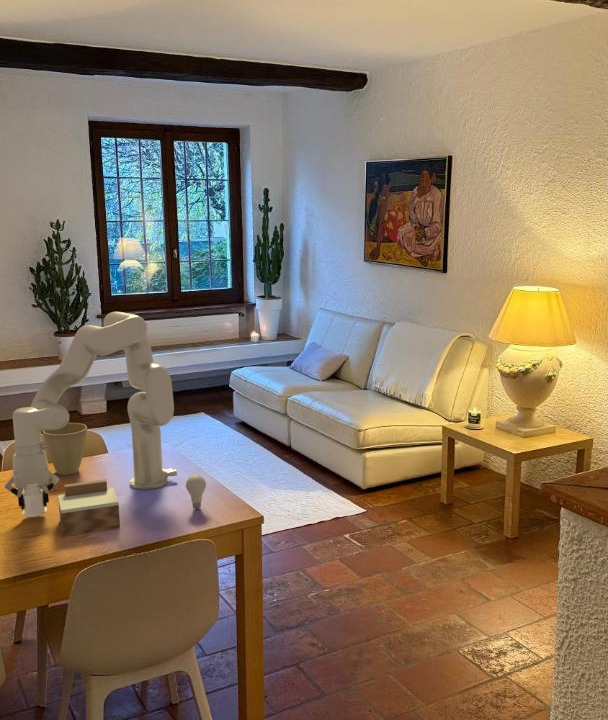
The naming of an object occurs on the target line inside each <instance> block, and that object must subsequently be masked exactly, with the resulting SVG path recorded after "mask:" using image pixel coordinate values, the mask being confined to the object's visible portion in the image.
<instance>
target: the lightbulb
mask: <svg viewBox="0 0 608 720" xmlns="http://www.w3.org/2000/svg"><path fill="white" fill-rule="evenodd" d="M185 482H186V483H185V488H186V490H187V492H188V493H189V496H190V499H191V502H192V508H193V509H194V510H199V509H200V508H201V506H202V501H203V495H204V493H205V489H206V487H207V483H206V480H205V478H204V477H203V476H201V475H199V474H193V475H191V476H189V477H188V479H187V480H186V481H185Z"/></svg>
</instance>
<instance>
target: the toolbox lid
mask: <svg viewBox="0 0 608 720" xmlns="http://www.w3.org/2000/svg"><path fill="white" fill-rule="evenodd" d="M57 496H58V497H57V498H58V505H59V504H60V510H61V513H68V512H75V511H81V510H88V509H95V508H102V507H109V506H116V505H119V506H120V503H119V499H118V496H117V494H116V492H115V489H114V487H109V488H108V481H107V479H105V478H104V479H97V480H91V481H89V480H88V481H81V482H76V483H74V482H73V483H67V484H64V494H58V495H57Z"/></svg>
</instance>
